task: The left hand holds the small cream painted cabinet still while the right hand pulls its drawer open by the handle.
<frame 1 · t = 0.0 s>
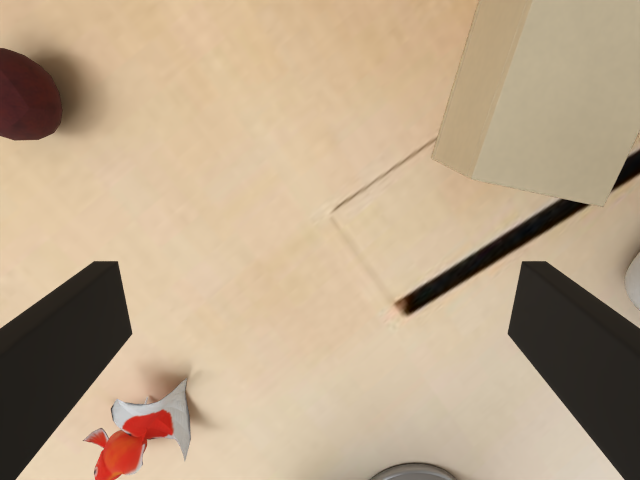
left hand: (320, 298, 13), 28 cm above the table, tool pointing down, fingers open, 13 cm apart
maroon round piece: (41, 97, 37), on the table
fish: (154, 403, 50), on the table
cabinet: (513, 76, 36), on the table
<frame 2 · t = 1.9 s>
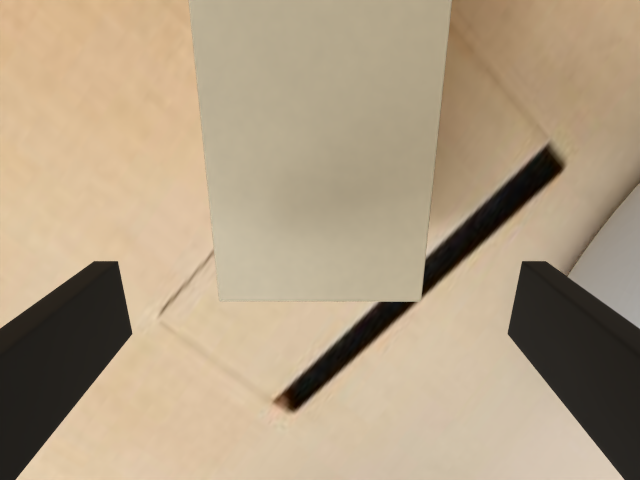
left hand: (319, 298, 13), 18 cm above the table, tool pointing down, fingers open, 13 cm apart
cabinet: (320, 117, 27), on the table
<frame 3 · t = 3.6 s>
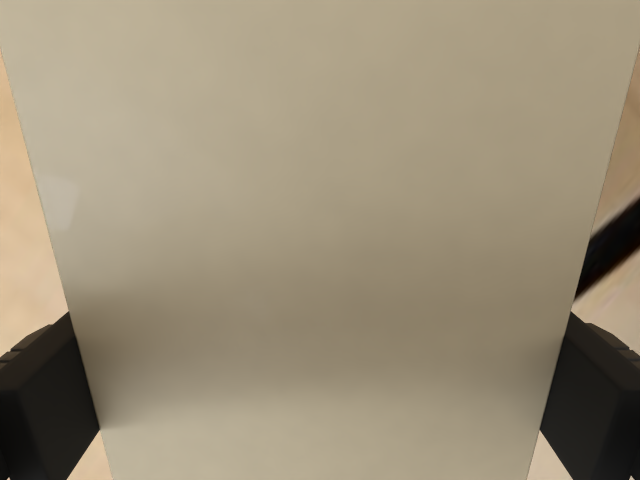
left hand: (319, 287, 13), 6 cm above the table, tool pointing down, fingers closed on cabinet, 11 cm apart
cabinet: (319, 125, 17), on the table, touching left hand
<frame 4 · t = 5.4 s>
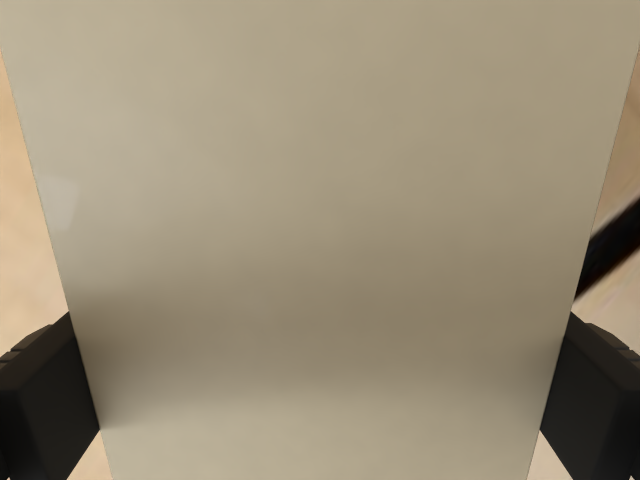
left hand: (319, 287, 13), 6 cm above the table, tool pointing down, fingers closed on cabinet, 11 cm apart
cabinet: (319, 125, 17), on the table, touching left hand
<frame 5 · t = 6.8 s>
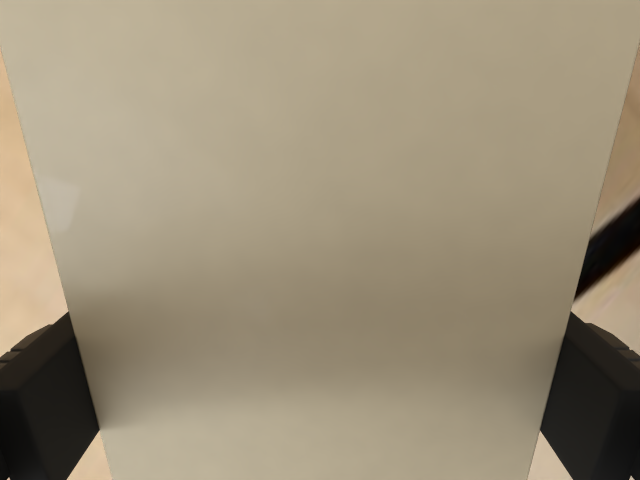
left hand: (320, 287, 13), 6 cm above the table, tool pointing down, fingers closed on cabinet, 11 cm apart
cabinet: (319, 125, 17), on the table, touching left hand
when the left hand's fingers open (6 cm above the table, at t = 8.5 s): cabinet stays where it is, on the table.
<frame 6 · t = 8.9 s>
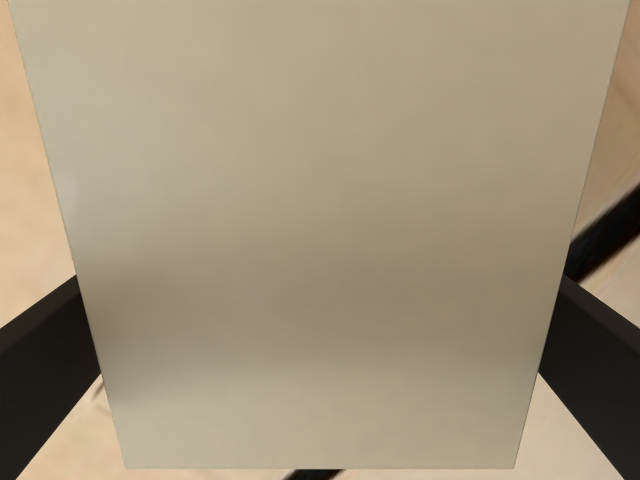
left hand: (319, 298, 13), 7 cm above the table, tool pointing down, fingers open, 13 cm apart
cabinet: (319, 112, 17), on the table
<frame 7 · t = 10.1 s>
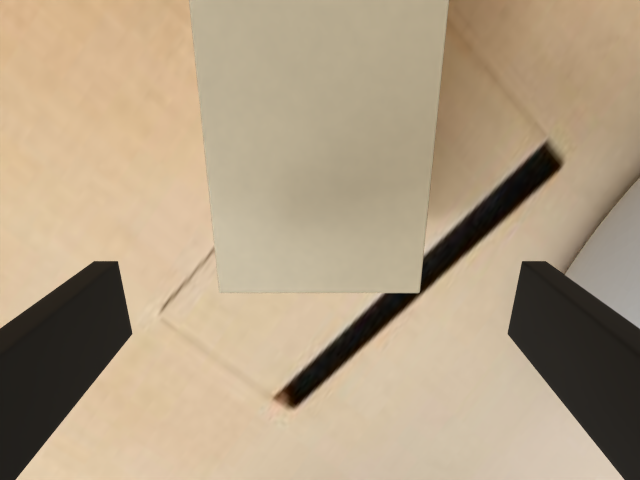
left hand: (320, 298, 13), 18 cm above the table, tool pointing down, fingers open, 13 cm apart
cabinet: (319, 111, 27), on the table
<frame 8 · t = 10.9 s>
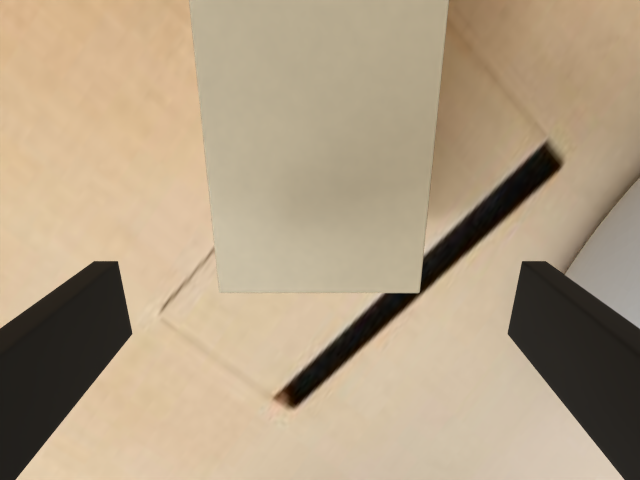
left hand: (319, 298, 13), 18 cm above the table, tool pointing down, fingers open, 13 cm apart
cabinet: (319, 111, 27), on the table
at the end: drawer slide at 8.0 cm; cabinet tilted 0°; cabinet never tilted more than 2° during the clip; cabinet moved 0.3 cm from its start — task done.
